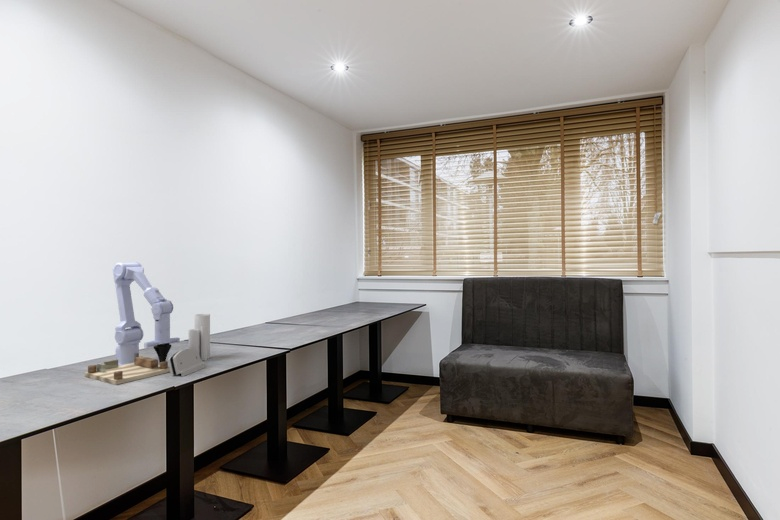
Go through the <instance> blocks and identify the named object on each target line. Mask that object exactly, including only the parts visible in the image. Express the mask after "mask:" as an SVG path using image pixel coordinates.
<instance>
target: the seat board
mask: <svg viewBox="0 0 780 520" xmlns="http://www.w3.org/2000/svg"><path fill="white" fill-rule="evenodd" d="M135 357H140V352H139V353H135V354H134V363H129V364H124V365H118V360H117V359H116V358H115V359H112V360H107V361H103V363H101V362H99V363H96V364H91V365H88V366H87V372H84V377H86V378H90V379H94V380H97V381H100V382H101V381H102V382H104V383H107V384H111V385H115V386H116V385H120V384H125V383H129V382H133V381H138V380H142V379H145V378H146V379H147V378H151V377H154V376H159V375H163V374H168V373H170V368H169V364H168V360H167V361H163V362H159V364H158V367H155V368H148V367H143V366H139V365H135Z"/></svg>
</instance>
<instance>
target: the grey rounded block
mask: <svg viewBox="0 0 780 520" xmlns="http://www.w3.org/2000/svg"><path fill="white" fill-rule="evenodd" d="M167 362H168V367H169V368H170V372H169V374H170V376H171V377H174V376H177V375H180V374H181V377H182V378H183V377H185V376H187V375H190V374H192V373H194V372H196V371H199V370H202V369H203V368H206V367H207V366H206V363H205V362H204V361H202V360H201V358H200V356H199V353H198V351H197V349H192V348H190V349H189V348H184V349H181V350H178V351H176V352H175V353H173V354H172V355H170V356H169V358H168V359H167ZM201 368H202V369H201Z"/></svg>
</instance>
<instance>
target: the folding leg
mask: <svg viewBox="0 0 780 520" xmlns="http://www.w3.org/2000/svg"><path fill="white" fill-rule="evenodd" d="M135 365H139V366H143V367H148V368H155V367H158V365H159V358H158V359H157V358H153V357H152V358H151V357H147V356H143V355H142V356H140V355H139V357H135Z"/></svg>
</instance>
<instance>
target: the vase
mask: <svg viewBox="0 0 780 520" xmlns="http://www.w3.org/2000/svg"><path fill="white" fill-rule="evenodd" d="M193 318H194V328H193V329H189V330H188V349H190V348H192V349H197V351H198V353H199V356H200V358H201V360H205V361H208V359H210V358H211V314H210V313H196V314H194V317H193ZM207 358H208V359H207Z"/></svg>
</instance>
